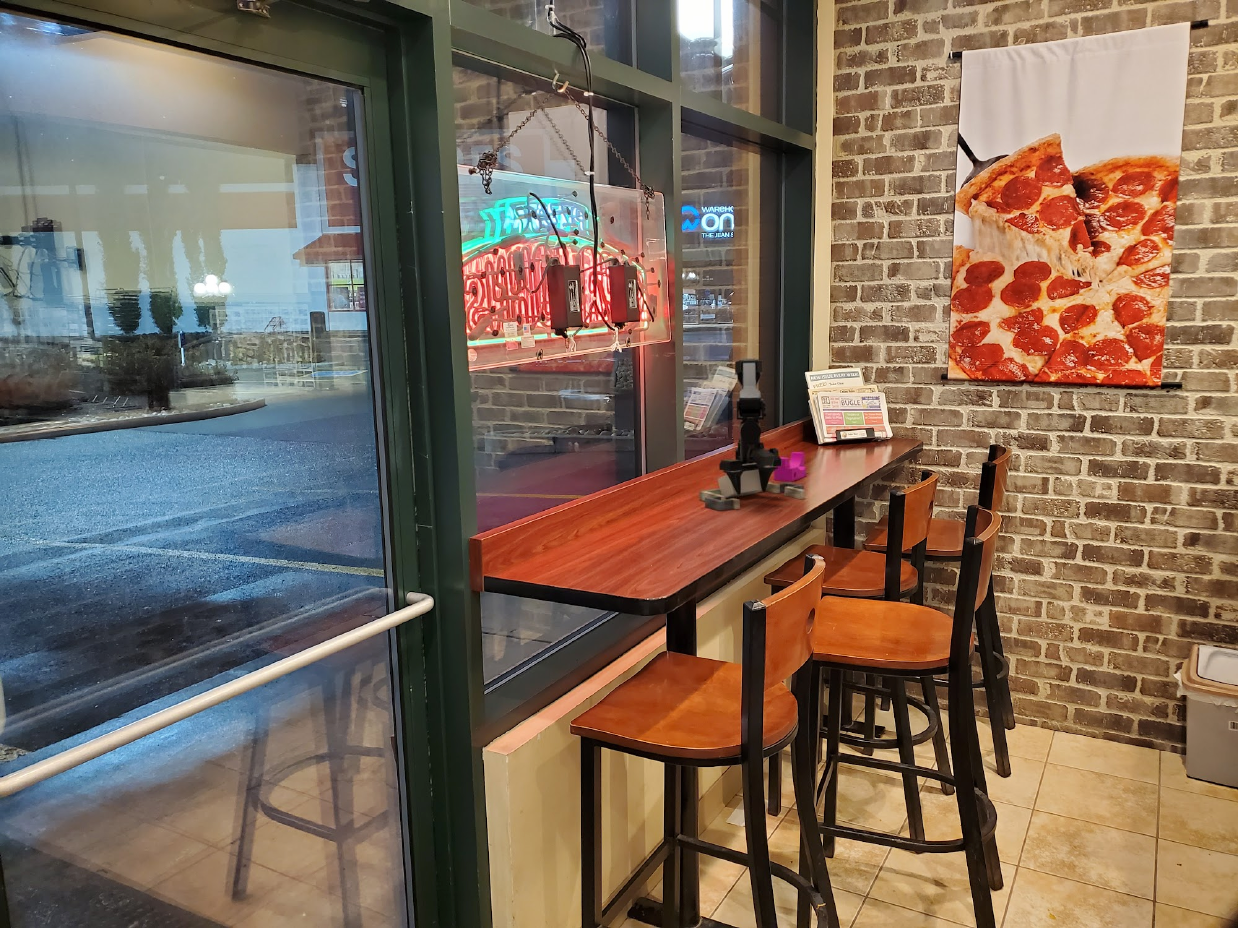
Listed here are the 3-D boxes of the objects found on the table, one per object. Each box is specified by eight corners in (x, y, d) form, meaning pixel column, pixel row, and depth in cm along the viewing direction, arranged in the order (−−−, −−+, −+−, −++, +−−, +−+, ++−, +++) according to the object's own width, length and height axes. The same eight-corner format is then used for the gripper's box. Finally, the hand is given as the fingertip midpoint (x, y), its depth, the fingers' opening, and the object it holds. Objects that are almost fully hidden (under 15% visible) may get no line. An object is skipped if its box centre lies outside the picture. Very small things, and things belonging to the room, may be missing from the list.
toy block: (792, 482, 296) (792, 459, 294) (774, 481, 299) (774, 458, 298) (811, 475, 308) (811, 453, 307) (793, 474, 311) (793, 451, 310)
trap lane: (686, 501, 269) (686, 492, 269) (778, 488, 286) (778, 480, 285) (722, 511, 254) (722, 502, 254) (816, 496, 271) (816, 488, 271)
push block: (722, 498, 272) (717, 478, 273) (754, 493, 278) (749, 474, 279) (734, 493, 267) (728, 473, 268) (766, 488, 273) (761, 469, 274)
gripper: (741, 443, 256) (742, 499, 258) (793, 438, 265) (794, 492, 267) (717, 440, 266) (718, 495, 267) (768, 436, 275) (769, 488, 277)
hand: (751, 492), depth 269 cm, fingers open, 9 cm apart
